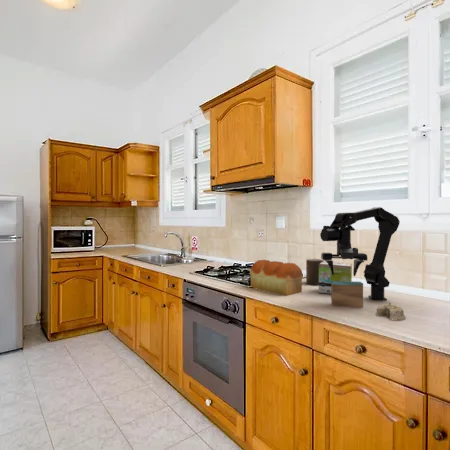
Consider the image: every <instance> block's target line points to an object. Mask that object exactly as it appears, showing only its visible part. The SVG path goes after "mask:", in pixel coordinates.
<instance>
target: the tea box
mask: <svg viewBox="0 0 450 450" xmlns="http://www.w3.org/2000/svg"><path fill="white" fill-rule="evenodd" d="M352 267H353V264H352V263H345V262H335V261H333V270H334V276H332V273H331V270H330V267H329V265H328V263H327V262H326V261H324V262H321V263H320V264H319V284H318V285H317V286H318V293H321V294H322V293H324V294H331V281H352V280H353V272H352V271H353V268H352Z"/></svg>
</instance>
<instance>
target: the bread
mask: <svg viewBox="0 0 450 450" xmlns="http://www.w3.org/2000/svg"><path fill="white" fill-rule="evenodd" d="M249 270H250V271H249V275H250V287H251V286H252V287H253V288H252V289H254V288H257V289H256V290H259V289H260V291H263V290H265V292H268V291H269V293H273V292H274V293H273V294H277V293H278V294H279V295H283V296H293V295H295V294H300V293H302V292H303V285H302V283H303V278H304V277H303V276H304V275H303V270H302V269H301V268H300V266H299V265H298V264H296V263H293V262H282V261H276V260H273V261H270V260H268V259H260V260H256V261H255V262H254V263H253V264H252V266H251V267H250V269H249ZM278 294H277V295H278Z"/></svg>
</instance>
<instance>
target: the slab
mask: <svg viewBox="0 0 450 450" xmlns="http://www.w3.org/2000/svg"><path fill="white" fill-rule="evenodd" d="M330 298H331V299H330V301H331V302H330V303H331V305H332V306H333V307H345V308H346V307H351V308H364V282H361V281H331V293H330Z"/></svg>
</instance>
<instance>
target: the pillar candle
mask: <svg viewBox="0 0 450 450" xmlns="http://www.w3.org/2000/svg"><path fill="white" fill-rule="evenodd" d="M305 261H306V264H305V265H306V267H305V268H306V269H305V271H306V274H305V275H306V276H305V279H306V280H305V282H306V284H308V285H312V286H318V284H319V264H320V263H321V262H325V261H324V260H323V259H320V258H319V259H317V258H308V259H306V260H305Z"/></svg>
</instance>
